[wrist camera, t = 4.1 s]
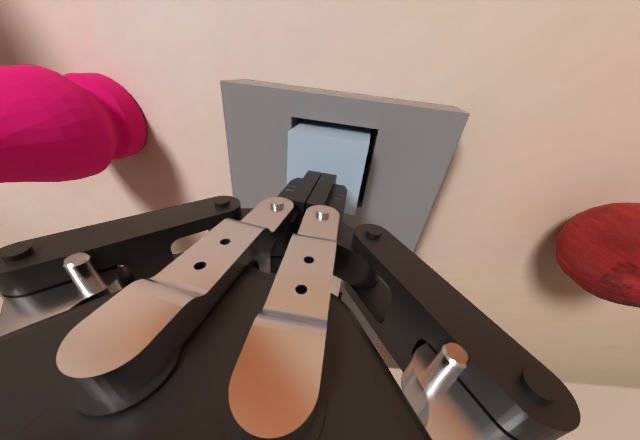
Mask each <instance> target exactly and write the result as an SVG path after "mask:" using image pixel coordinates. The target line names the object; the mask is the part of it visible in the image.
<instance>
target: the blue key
mask: <svg viewBox="0 0 640 440" xmlns="http://www.w3.org/2000/svg"><path fill="white" fill-rule="evenodd" d="M370 134H371V128H366V127H359V126H352V125H345V124H338V123H331V122H324V121H318V120H311V119H305V120H304V121H302V122H301V123H299V124H298V125H296V126H295V127H294V128H292V129H291V130H289V131H288V151H287V184H288V183H289V182H290V180H293V179H295V178H297V177H298V178H303V177H304V176H305V174H306V173H307V171H308V170H310V171H316V172H322V173H328V174H334V175H337V179H336V184H338V185H344V186H345V187H346V189H347V190H348V191H347V196H346V202H345V208H344V214H350V215H355V211H356V206H357V201H358V196H359V191H360V187H361V182H362V177H363V172H364V168H365V163H366V158H367V153H368V148H369V143H370Z"/></svg>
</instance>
